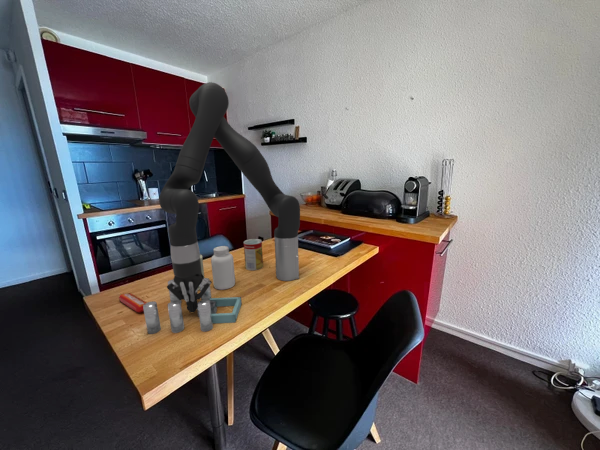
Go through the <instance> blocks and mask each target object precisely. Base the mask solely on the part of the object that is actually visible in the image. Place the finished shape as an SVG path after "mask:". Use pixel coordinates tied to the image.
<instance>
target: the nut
mask: <svg viewBox="0 0 600 450" xmlns="http://www.w3.org/2000/svg"><path fill="white" fill-rule="evenodd" d="M210 305H211V314H217V312H218V307H217V305H216V302H215V301H211V300H210ZM196 311H197V312H196V314H197V318H199V311H198V307H197V310H196Z"/></svg>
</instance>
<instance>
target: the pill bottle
mask: <svg viewBox="0 0 600 450" xmlns="http://www.w3.org/2000/svg"><path fill="white" fill-rule="evenodd" d="M210 263H211V271H212V272H211V273H212V280H213V281H212V283H213V288H215V290H228V289H231V288H232V287H234V286H235V284H236V275H235V261H234V256H233V254H232V253H230V249H229V246H227V245H221V246H217V247H214V248H213V255H212V256H211V259H210Z"/></svg>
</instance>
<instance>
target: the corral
mask: <svg viewBox="0 0 600 450" xmlns="http://www.w3.org/2000/svg"><path fill="white" fill-rule="evenodd" d="M209 300H211V301H215V302H216V305H217V308H218V307H233V309H232V312H227V313H226V312H224V313H223V312H222V313H216V314H212V323H213V324H230V323H231V324H232V323H236V322H237V318H238V316H239V313H240V310H241V307H242V296H240V297H239V296H236V297H234V296H233V297H231V296H230V297H211V298H210V299H209Z"/></svg>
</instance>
